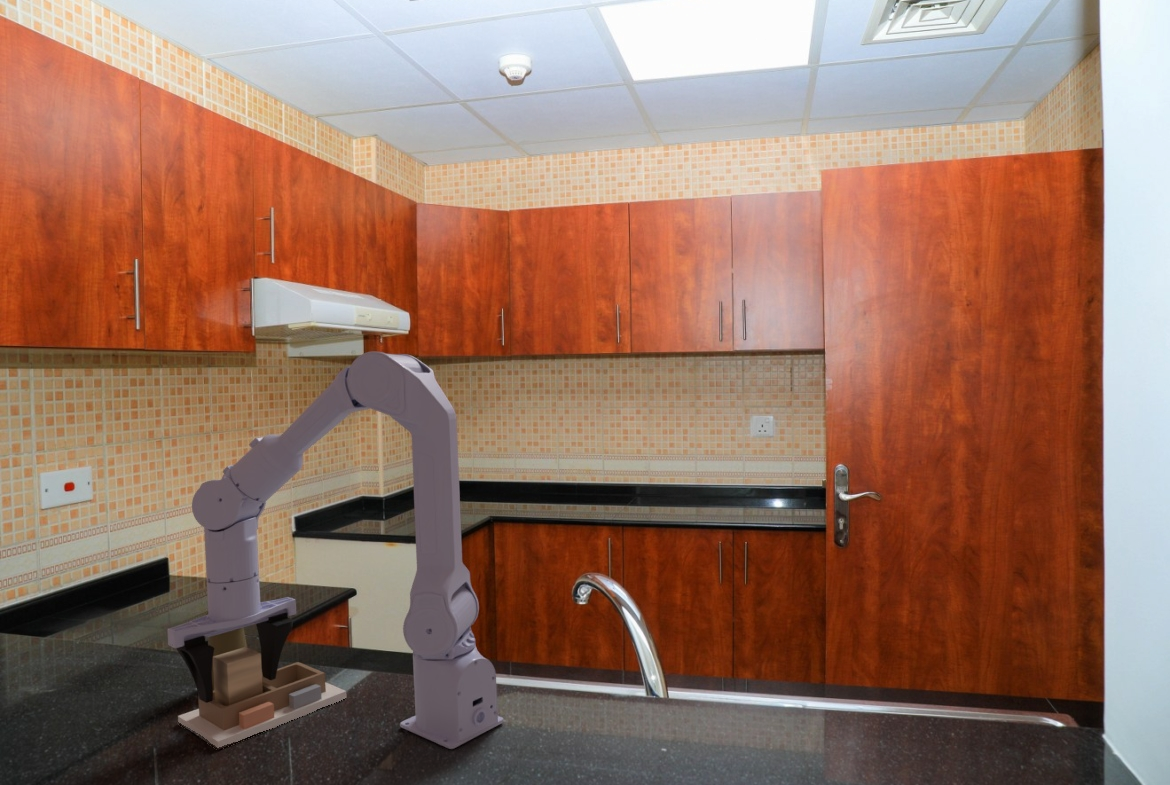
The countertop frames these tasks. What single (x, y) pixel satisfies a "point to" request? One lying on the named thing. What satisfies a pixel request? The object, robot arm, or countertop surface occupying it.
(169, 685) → the countertop surface
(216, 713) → the socket board
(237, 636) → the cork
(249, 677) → the maple peg
